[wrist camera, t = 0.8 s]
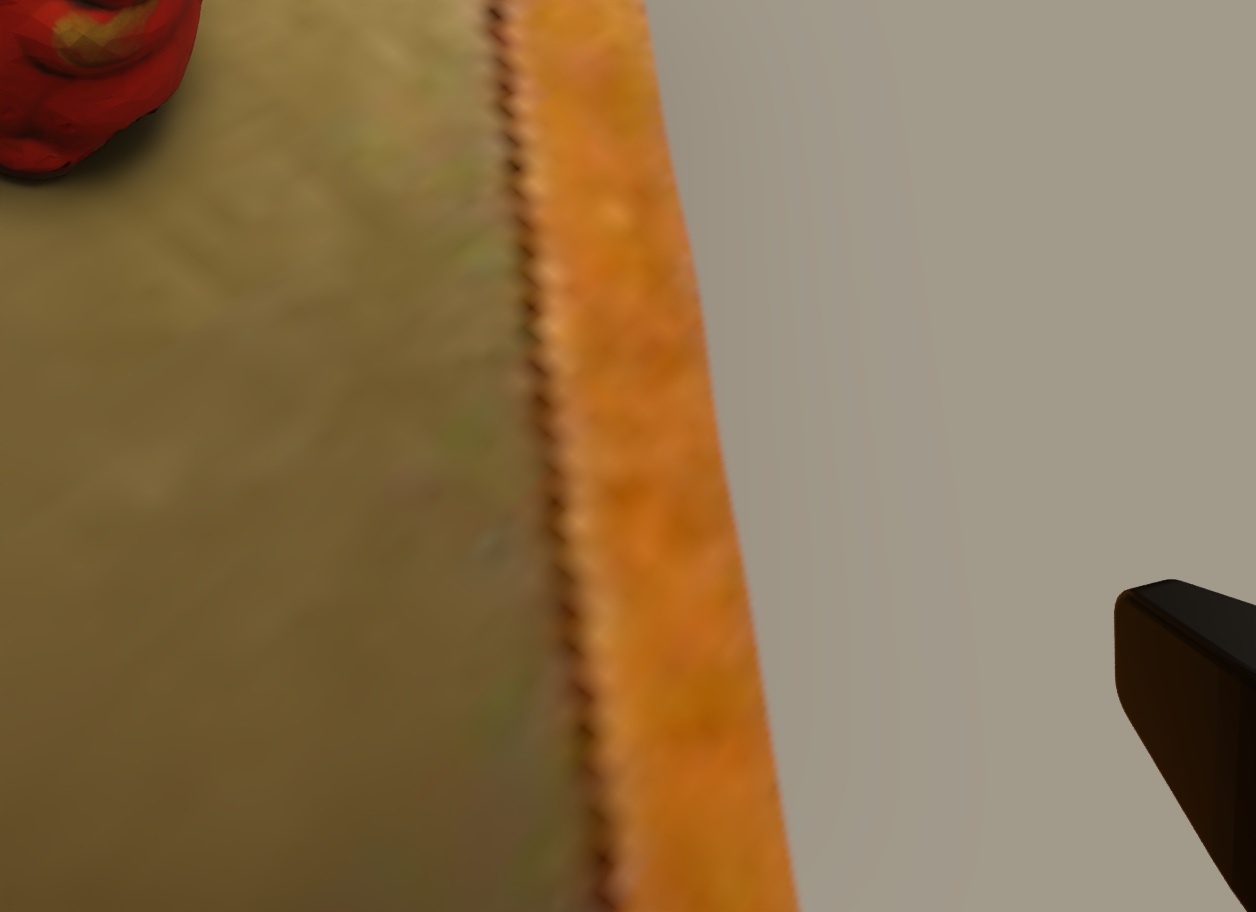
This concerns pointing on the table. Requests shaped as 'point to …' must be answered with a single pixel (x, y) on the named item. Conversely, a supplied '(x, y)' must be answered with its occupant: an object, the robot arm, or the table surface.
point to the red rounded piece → (84, 74)
